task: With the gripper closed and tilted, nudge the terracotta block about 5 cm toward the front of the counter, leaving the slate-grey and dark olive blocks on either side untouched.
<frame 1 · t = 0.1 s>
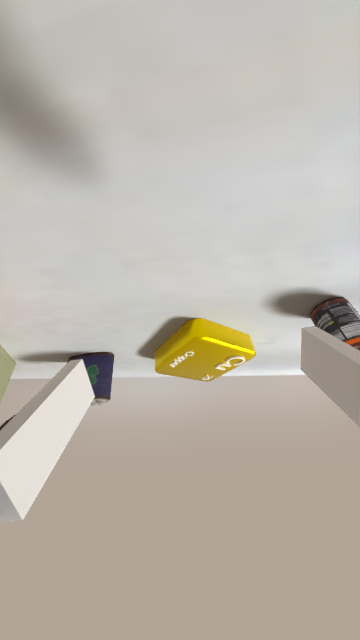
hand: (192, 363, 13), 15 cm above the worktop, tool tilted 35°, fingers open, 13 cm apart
supplement bottle: (327, 307, 36), on the worktop
element tile: (201, 343, 43), on the worktop
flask: (91, 355, 42), on the worktop
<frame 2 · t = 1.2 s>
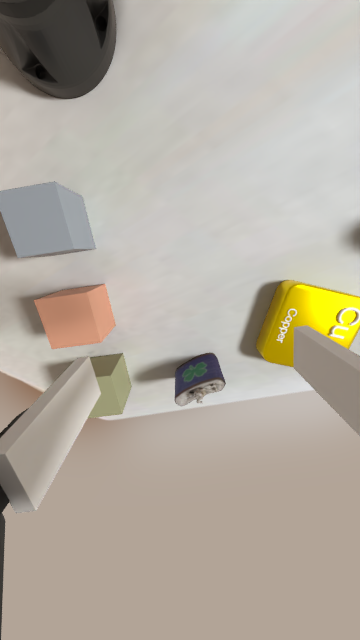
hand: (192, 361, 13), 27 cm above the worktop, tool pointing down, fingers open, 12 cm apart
olive block: (108, 372, 44), on the worktop
element tile: (301, 323, 41), on the worktop
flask: (195, 363, 44), on the worktop
slate block: (66, 227, 35), on the worktop
terracotta block: (89, 308, 40), on the worktop
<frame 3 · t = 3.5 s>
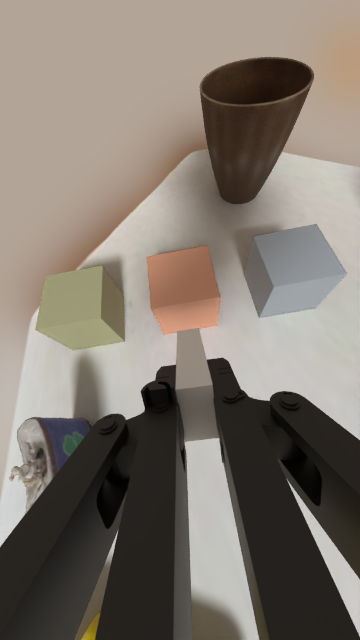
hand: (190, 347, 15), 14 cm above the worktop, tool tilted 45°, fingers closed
olive block: (100, 322, 34), on the worktop
plant pot: (239, 192, 43), on the worktop
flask: (90, 456, 26), on the worktop
slate block: (277, 290, 32), on the worktop
terracotta block: (186, 307, 33), on the worktop
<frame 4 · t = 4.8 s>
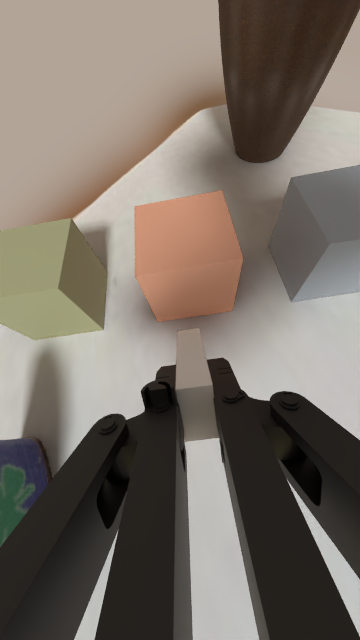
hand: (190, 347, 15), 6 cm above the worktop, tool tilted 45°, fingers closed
olive block: (73, 304, 25), on the worktop
plant pot: (260, 151, 35), on the worktop
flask: (39, 496, 17), on the worktop
slate block: (315, 266, 24), on the worktop
terracotta block: (190, 286, 24), on the worktop
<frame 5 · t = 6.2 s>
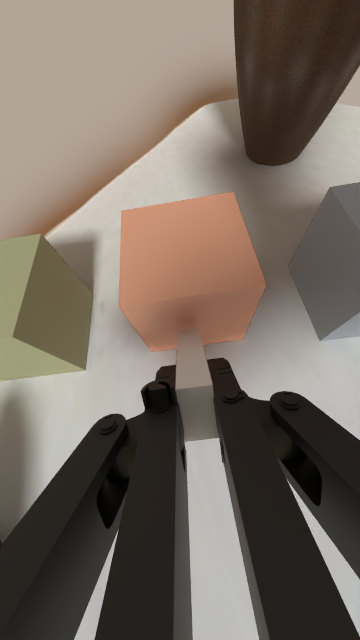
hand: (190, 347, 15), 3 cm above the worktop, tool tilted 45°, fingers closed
olive block: (50, 334, 21), on the worktop
plant pot: (273, 152, 30), on the worktop
slate block: (347, 294, 19), on the worktop
terracotta block: (190, 306, 20), on the worktop, touching gripper
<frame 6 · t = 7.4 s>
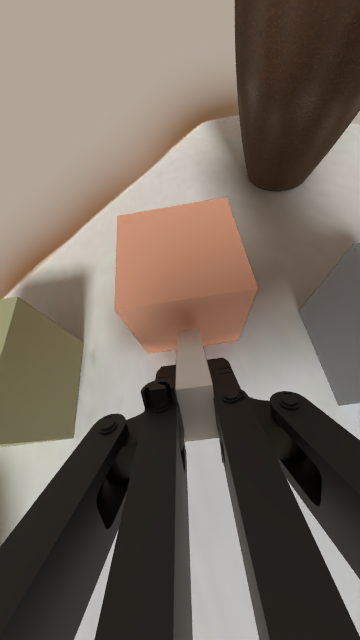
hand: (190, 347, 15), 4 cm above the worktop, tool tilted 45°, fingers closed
olive block: (35, 391, 19), on the worktop
plant pot: (277, 175, 28), on the worktop
terracotta block: (187, 308, 21), on the worktop, touching gripper
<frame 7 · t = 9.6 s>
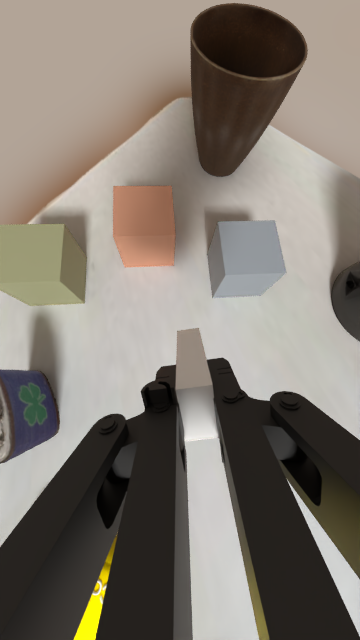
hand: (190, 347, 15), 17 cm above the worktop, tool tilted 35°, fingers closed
olive block: (59, 280, 34), on the worktop
element tile: (78, 605, 24), on the worktop
plant pot: (219, 163, 42), on the worktop
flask: (45, 402, 29), on the worktop
slate block: (233, 274, 36), on the worktop
terracotta block: (148, 245, 36), on the worktop
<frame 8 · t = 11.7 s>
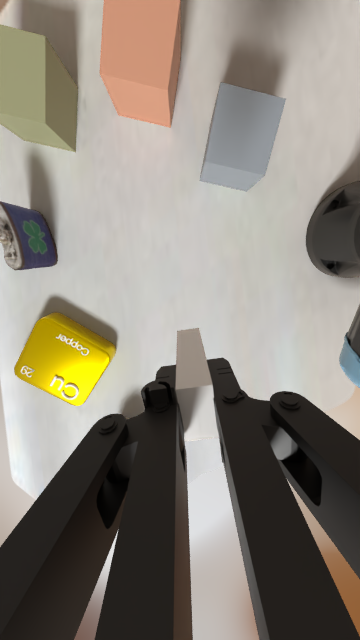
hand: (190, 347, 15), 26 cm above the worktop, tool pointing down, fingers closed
olive block: (50, 115, 32), on the worktop
element tile: (72, 354, 45), on the worktop
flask: (46, 239, 38), on the worktop
slate block: (229, 158, 34), on the worktop
terracotta block: (148, 88, 31), on the worktop
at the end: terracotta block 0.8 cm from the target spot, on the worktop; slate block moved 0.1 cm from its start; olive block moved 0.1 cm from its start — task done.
